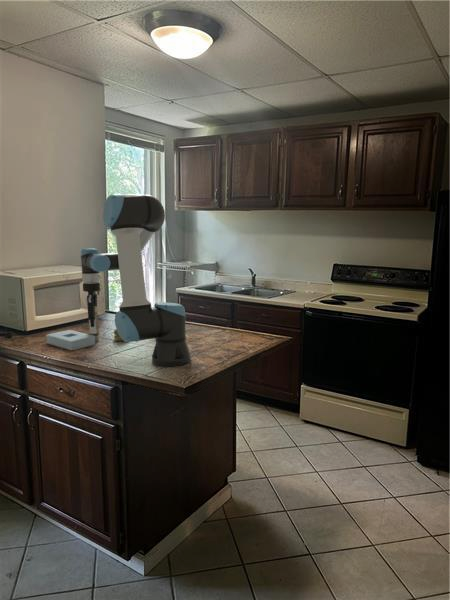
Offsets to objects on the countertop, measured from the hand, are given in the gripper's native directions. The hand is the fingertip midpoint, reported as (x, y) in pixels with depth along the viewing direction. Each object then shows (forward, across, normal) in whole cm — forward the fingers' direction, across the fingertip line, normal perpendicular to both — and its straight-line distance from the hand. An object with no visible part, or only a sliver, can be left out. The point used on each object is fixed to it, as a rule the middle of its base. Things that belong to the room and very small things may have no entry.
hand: (94, 332), depth 206 cm
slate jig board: (+4, -4, +10) cm, 11 cm away
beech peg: (+4, 0, 0) cm, 4 cm away
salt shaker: (+4, 0, -13) cm, 13 cm away
